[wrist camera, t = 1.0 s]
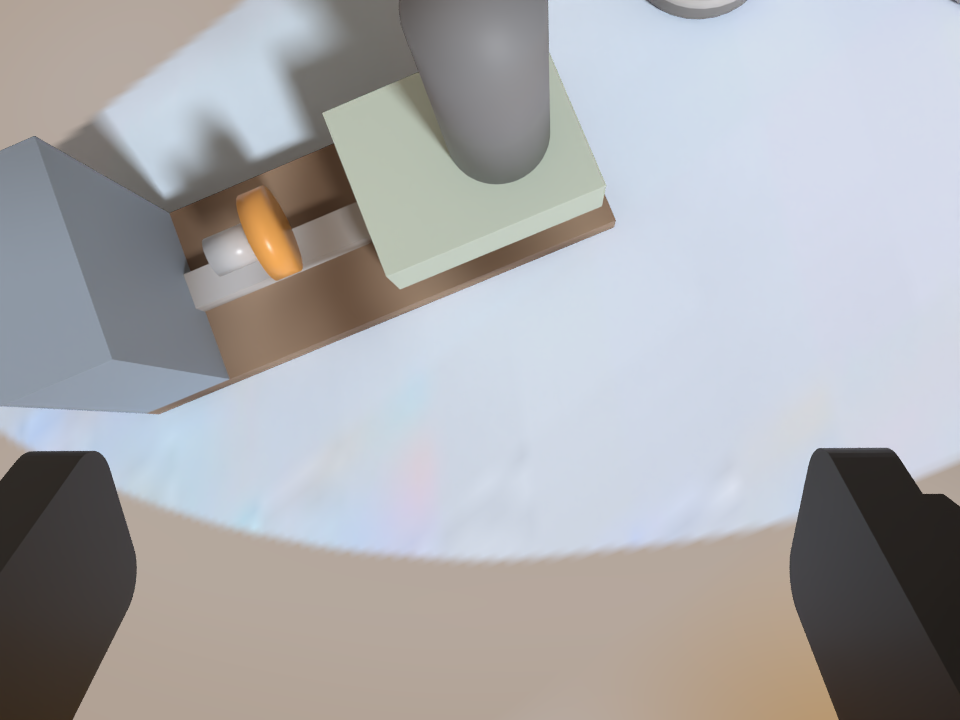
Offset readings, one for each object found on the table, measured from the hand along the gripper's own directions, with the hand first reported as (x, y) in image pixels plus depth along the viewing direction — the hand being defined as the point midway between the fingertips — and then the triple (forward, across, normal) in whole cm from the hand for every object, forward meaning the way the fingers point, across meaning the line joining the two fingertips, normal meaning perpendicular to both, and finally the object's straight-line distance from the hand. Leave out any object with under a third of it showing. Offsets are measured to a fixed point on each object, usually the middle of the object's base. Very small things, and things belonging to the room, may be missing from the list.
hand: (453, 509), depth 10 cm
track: (+28, +6, +8) cm, 30 cm away
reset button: (+25, +10, +7) cm, 28 cm away
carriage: (+27, +1, +5) cm, 28 cm away
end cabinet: (+26, +15, +10) cm, 32 cm away
